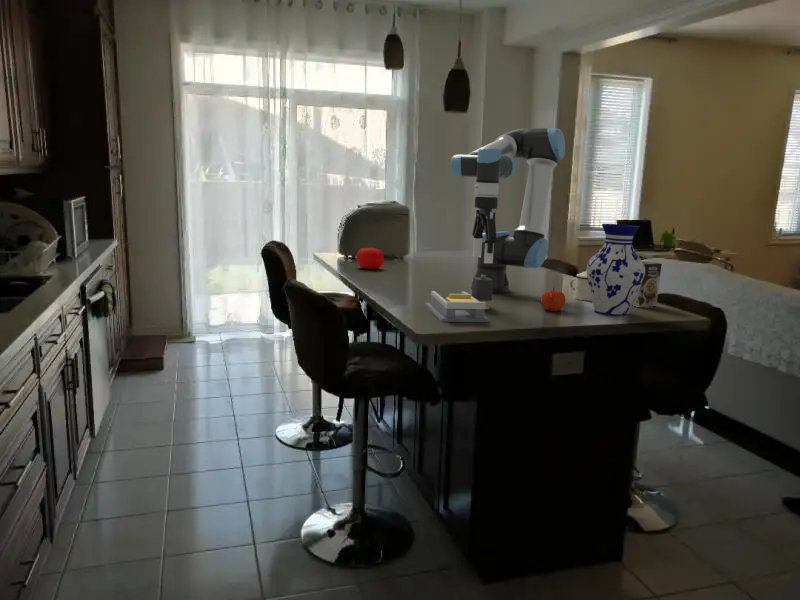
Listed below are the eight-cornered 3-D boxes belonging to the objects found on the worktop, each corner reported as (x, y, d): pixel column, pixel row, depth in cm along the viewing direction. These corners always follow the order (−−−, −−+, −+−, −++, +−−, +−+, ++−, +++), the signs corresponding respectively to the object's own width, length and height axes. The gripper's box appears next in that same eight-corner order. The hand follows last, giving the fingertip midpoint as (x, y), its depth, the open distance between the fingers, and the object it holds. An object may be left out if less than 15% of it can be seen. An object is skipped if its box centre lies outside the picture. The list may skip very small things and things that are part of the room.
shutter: (472, 302, 203) (472, 294, 203) (478, 306, 197) (478, 298, 196) (445, 301, 202) (446, 293, 201) (450, 306, 195) (451, 297, 195)
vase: (608, 320, 208) (618, 227, 202) (570, 308, 225) (579, 222, 219) (652, 317, 215) (663, 228, 210) (613, 306, 232) (622, 223, 227)
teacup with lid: (602, 299, 244) (606, 269, 242) (591, 302, 238) (594, 271, 236) (574, 295, 253) (577, 265, 251) (562, 297, 246) (565, 267, 244)
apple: (560, 313, 214) (562, 290, 212) (537, 310, 218) (539, 287, 217) (567, 310, 221) (569, 287, 219) (544, 307, 225) (546, 284, 223)
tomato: (382, 271, 293) (383, 248, 291) (355, 269, 293) (356, 247, 291) (383, 267, 304) (384, 246, 302) (357, 266, 304) (357, 245, 302)
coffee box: (639, 308, 231) (644, 263, 228) (625, 304, 236) (630, 261, 233) (657, 307, 235) (662, 263, 232) (643, 303, 241) (648, 261, 238)
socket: (467, 305, 220) (468, 288, 219) (489, 322, 196) (490, 302, 195) (424, 305, 217) (425, 288, 216) (441, 321, 194) (442, 302, 192)
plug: (486, 306, 221) (488, 274, 219) (490, 309, 216) (493, 276, 214) (471, 306, 220) (473, 273, 218) (475, 309, 215) (477, 276, 213)
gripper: (465, 194, 222) (462, 254, 226) (486, 197, 198) (482, 265, 202) (486, 194, 223) (482, 255, 227) (509, 198, 199) (504, 265, 203)
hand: (482, 260), depth 215 cm, fingers open, 13 cm apart
